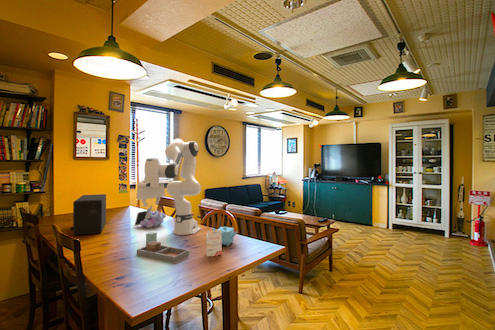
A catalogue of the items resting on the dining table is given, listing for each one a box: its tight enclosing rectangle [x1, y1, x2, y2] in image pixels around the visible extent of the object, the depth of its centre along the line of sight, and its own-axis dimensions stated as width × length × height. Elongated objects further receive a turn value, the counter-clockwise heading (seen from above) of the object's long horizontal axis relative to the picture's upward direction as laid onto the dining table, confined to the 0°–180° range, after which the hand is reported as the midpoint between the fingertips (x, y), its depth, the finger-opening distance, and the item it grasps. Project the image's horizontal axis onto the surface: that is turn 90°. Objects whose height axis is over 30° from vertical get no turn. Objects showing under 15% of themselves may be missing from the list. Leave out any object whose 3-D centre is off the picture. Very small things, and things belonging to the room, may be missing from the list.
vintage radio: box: [70, 193, 107, 236], centre depth 197 cm, size 38×20×25 cm, turn 25°
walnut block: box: [145, 241, 162, 253], centre depth 146 cm, size 5×6×6 cm
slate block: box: [145, 231, 158, 245], centre depth 161 cm, size 4×4×8 cm
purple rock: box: [134, 205, 167, 229], centre depth 208 cm, size 20×22×18 cm
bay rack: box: [136, 244, 190, 265], centre depth 144 cm, size 12×27×4 cm, turn 67°
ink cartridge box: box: [205, 229, 223, 257], centre depth 147 cm, size 9×5×15 cm, turn 105°
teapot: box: [211, 226, 238, 247], centre depth 167 cm, size 16×18×11 cm
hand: (151, 205), depth 161 cm, fingers open, 8 cm apart
